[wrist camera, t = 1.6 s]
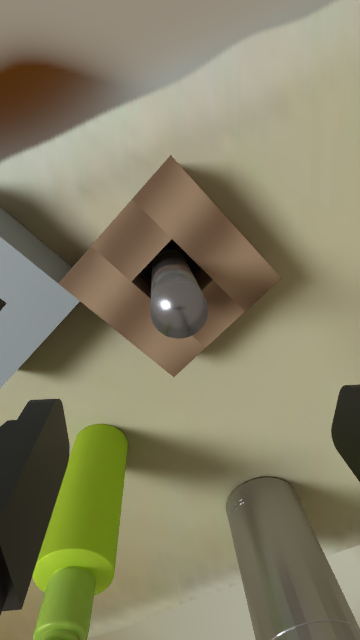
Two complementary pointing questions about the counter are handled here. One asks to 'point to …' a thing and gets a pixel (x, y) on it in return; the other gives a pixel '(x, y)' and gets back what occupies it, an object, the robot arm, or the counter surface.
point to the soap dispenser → (81, 534)
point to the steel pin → (176, 296)
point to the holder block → (146, 242)
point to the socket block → (28, 294)
